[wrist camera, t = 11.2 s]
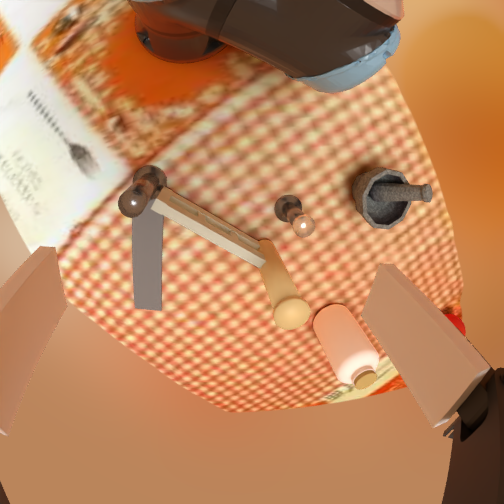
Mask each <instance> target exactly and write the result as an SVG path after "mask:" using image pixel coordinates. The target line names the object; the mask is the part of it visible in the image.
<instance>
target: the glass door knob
mask: <svg viewBox="0 0 504 504" xmlns="http://www.w3.org/2000/svg"><path fill="white" fill-rule="evenodd" d="M275 214H276V215H277V217H278V218H279V219H280V220H281V221H284V222H290V223H291V225H292V227H293V230H294V232H295V233H296V235H298V236H299V237H308V236H310V235H311V234H312V233H313V232H314V229H315V222H314V220H313V219H312V218H311V217H310V216H308V215H305V214H304V213H303V212H302V204H301V202H300V201H299V199H298V198H296V197H295V196H292V195H285V196H283V197H281V198H280V199H279V200H278V201H277V202H276V204H275Z"/></svg>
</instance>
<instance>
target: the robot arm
mask: <svg viewBox="0 0 504 504" xmlns="http://www.w3.org/2000/svg"><path fill="white" fill-rule="evenodd" d="M127 1H128V2H129V4H130V5H131V6H132V8H133V9H134V11H135V12H136V17H135V30H136V34H137V37H138V39H139V40H140V42H141V44H142V45H143V46H144V47H145V48H146V50H147V51H149V52H150V53H151V54H152V55H154V56H155V57H157V58H159V59H162V60H164V61H168V62H173V63H192V62H197V61H201V60H204V59H207V58H209V57H211V56H213V55H215V54H217V53H218V52H220V51H221V50H223V49H224V48H225V47H226V46H227V45H231V46H233V47H235V48H237V49H239V50H242V51H244V52H246V53H248V54H250V55H252V56H254V57H256V58H258V59H260V60H262V61H264V62H266V63H268V64H270V65H272V66H274V67H276V68H277V69H279V70H281V71H283V72H285V75H286V76H288V77H289V78H291V79H293V80H296V81H300V82H302V83H304V84H306V85H308V86H309V87H311V88H313V89H315V90H317V91H320V92H325V93H338V92H343V91H346V90H349V89H351V88H353V87H355V86H357V85H359V84H361V83H362V82H364V81H366V80H367V79H369V78H370V77H371V76H373V75H374V74H375V73H376V72H378V71H379V70H380V69H381V68H382V67H383V66H384V65H385V64H386V59H387V58H388V57H390V56H392V55H393V54H394V53H395V51H396V49H397V47H398V45H399V42H400V31H399V29H398V27H397V25H396V23H398V22H399V21H400V20H401V19H402V18H403V17H404V8H403V0H127ZM66 308H67V303H66V298H65V294H64V290H63V286H62V281H61V276H60V271H59V266H58V260H57V255H56V249H55V247H43V246H40V247H39V248H38V249H37V250H36V251H35V252H34V253H33V254H32V255H31V256H30V257H29V258H28V259H27V260H26V261H25V262H24V263H23V264H22V265H21V266H20V268H19V269H18V270H17V271H16V272H15V273H14V274H13V275H12V276H11V277H10V278H9V279H8V280H7V282H6V283H5V284H4V285H3V286H2V287H1V288H0V433H1V434H4V435H6V436H9V433H10V430H11V427H12V424H13V421H14V419H15V416H16V413H17V410H18V408H19V405H20V403H21V400H22V398H23V395H24V393H25V390H26V388H27V386H28V383H29V381H30V378H31V377H32V374H33V372H34V370H35V368H36V366H37V364H38V361H39V359H40V357H41V355H42V353H43V351H44V349H45V347H46V345H47V343H48V341H49V339H50V337H51V335H52V333H53V331H54V330H55V328H56V326H57V324H58V322H59V320H60V319H61V317H62V315H63V313H64V311H65V310H66ZM361 316H362V318H363V319H364V321H365V322H366V324H367V325H368V327H369V328H370V330H371V331H372V333H373V334H374V336H375V337H376V339H377V340H378V342H379V343H380V345H381V346H382V348H383V349H384V351H385V352H386V354H387V355H388V357H389V358H390V360H391V361H392V363H393V364H394V366H395V368H396V369H397V371H398V372H399V374H400V375H401V377H402V379H403V380H404V382H405V383H406V385H407V386H408V388H409V390H410V391H411V393H412V395H413V396H414V398H415V399H416V401H417V402H418V404H419V406H420V408H421V409H422V411H423V413H424V414H425V416H426V417H427V419H428V421H429V423H430V424H431V426H432V428H434V427H436V426H439V425H441V424H443V423H445V422H447V421H448V420H449V419H450V418H451V416H452V415H453V414H454V413H455V412H456V411H457V412H458V414H459V417H458V418H457V419H456V420H455V421H454V422H453V423H452V424H451V425H450V426H449V427H448V428H447V429H446V430H445V431H444V434H443V436H446V435H447V434H448V433H449V432H450V431H451V430H453V429H454V431H453V432H452V433H451V434H450V436H449V438H452V439H453V443H452V452H451V459H450V466H449V472H448V477H447V482H446V487H445V492H444V496H443V501H442V504H504V368H498V369H497V370H496V371H495V370H494V369H493V368H492V367H491V366H490V365H489V364H488V362H487V361H486V360H485V359H484V358H483V356H482V355H481V354H480V353H479V352H478V351H477V349H476V348H475V347H474V346H473V345H471V343H470V341H469V340H468V339H466V338H465V336H464V335H463V334H462V332H461V331H460V330H459V329H458V328H457V327H455V326H454V325H453V324H452V322H451V321H450V320H449V319H448V318H447V317H446V316H445V315H444V314H443V313H442V312H441V311H440V310H439V309H438V308H437V307H436V306H435V305H434V304H433V303H432V302H431V301H430V300H429V299H428V298H427V297H426V295H425V294H424V293H423V292H422V291H420V290H419V289H418V288H417V287H416V286H415V285H414V284H413V283H412V282H411V281H410V280H409V279H408V278H407V277H406V276H405V275H404V274H403V273H402V272H401V271H400V270H399V269H398V268H397V267H396V266H395V265H393V264H379V267H378V270H377V273H376V276H375V279H374V282H373V285H372V287H371V290H370V293H369V296H368V298H367V301H366V304H365V306H364V309H363V312H362V314H361ZM0 504H10V503H9V500H8V498H7V496H6V494H5V492H4V489H3V487H2V484H1V482H0Z"/></svg>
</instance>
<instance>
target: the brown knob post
mask: <svg viewBox="0 0 504 504" xmlns="http://www.w3.org/2000/svg"><path fill="white" fill-rule="evenodd" d="M166 185H167V179H166V176H165V174H164V172H163V171H162V170H161V169H160V168H158V167H156V166H145V167H142V168H141V169H140V170H138V171H137V173H136V174H135V176H134V178H133V184H132V185H131V186H130V187H129V188H128V189H127V190H126V191H125V192H124V193H123V194H122V195H121V196H120V198H119V201H118V206H119V209H120V211H121V213H122V214H123V215H125V216H127V217H130V218H134V217H137V216H139V215H140V214H141V213H142V212H143V210H144V209H145V207H146V206H147V204H148V203H149V201H150V200H153V199H156V198H157V197H158V195H159V193H160V192H161V190H162V189H163V187H164V186H165V187H166Z"/></svg>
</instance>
